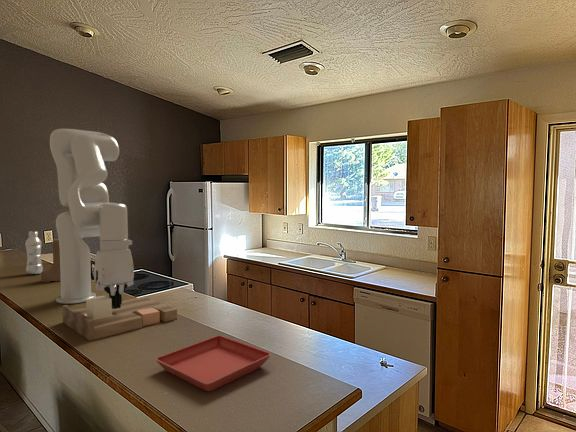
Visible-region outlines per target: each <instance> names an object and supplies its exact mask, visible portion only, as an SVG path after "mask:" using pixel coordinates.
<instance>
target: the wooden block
mask: <svg viewBox="0 0 576 432" xmlns="http://www.w3.org/2000/svg"><path fill="white" fill-rule="evenodd" d="M40 275H41V283H51V282H50V281H55V282H61V275H60V247H59V238H54V239H52V266H50V268H49V269H48V268H47V269H44V270H43V271H42V272H41V273H40Z"/></svg>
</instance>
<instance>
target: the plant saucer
mask: <svg viewBox="0 0 576 432" xmlns="http://www.w3.org/2000/svg"><path fill="white" fill-rule="evenodd" d="M271 355H272V353H270V352H267V351H266V350H263V349H260V348H258V347H254V346H252V345H248V344H246V343H243V342H240V341H237V340H234V339H231V338H228V337H227V336H223V335H215V336H212V337H210V338H207V339H205V340H201V341H199V342H196V343H194V344H190V345H188V346H185V347H183V348H182V347H181V348H180V349H176V350H174V351H172V352H168V353H166V354H163V355H160V356H157V357H155V361H156V362H157V364H159V366H160V367H161V368H162V369H164V370H165V371H166V372H168V373H170V374H171V375H173V376H175V375H176V377H178V378H180V379H181V378H182V380H184V381H186V382H187V381H188V383H190V384H191V385H194V386H195V387H197V388H199V389H202V390H203V391H205V392H207V391H208V392H209V391H210V392H212V391H214V390H216V389H219V388H220V387H221V388H222V387H223V386H225V385H226V384H229V383H231V382H234V381H235V380H237V379H240V378H242V377H244V376H246V375H247V374H250V373H251V372H254V371H256V370H258V369H259V368H261V367H262V366H263V365H264V364H265V363H266V362H267V361H268V360H269V359H270V357H271Z"/></svg>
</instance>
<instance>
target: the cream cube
mask: <svg viewBox="0 0 576 432" xmlns="http://www.w3.org/2000/svg"><path fill="white" fill-rule="evenodd" d="M85 304H86V307H85V308H87V317H89V318H91V319H93V320H96V319H101V318H105V317H110V316H112V299H111V298H109V297H108V296H106V295H99V296H96V297H94V298H88V299H86V302H85Z"/></svg>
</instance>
